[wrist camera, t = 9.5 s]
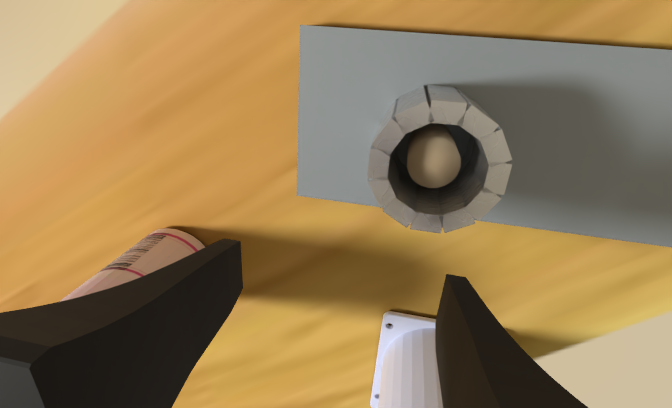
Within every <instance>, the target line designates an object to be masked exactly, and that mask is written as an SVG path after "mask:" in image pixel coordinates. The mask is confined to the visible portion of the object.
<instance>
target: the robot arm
mask: <svg viewBox="0 0 672 408" xmlns="http://www.w3.org/2000/svg"><path fill="white" fill-rule="evenodd" d="M242 289H243V280H242V262H241V243H240V241H236V240H230V239H222V240H220V241H217V242H215V243H213V244H211V245H209V246H207V247H205V248H203V249H201V250H199V251H197V252H195V253H193V254H191V255H189V256H186V257H184V258H182V259H180V260H178V261H176V262H174V263H172V264H170V265H167V266H165V267H163V268H161V269H158V270H156V271H154V272H152V273H149V274H147V275H145V276H142V277H140V278H137V279H134V280H132V281H129V282H126V283H123V284H120V285H118V286H115V287H112V288H109V289H105V290H102V291H98V292H95V293H91V294H88V295H84V296H81V297H77V298H73V299H69V300H65V301H61V302H57V303H52V304H47V305H43V306H38V307H33V308H27V309H21V310H15V311H9V312H3V313H0V408H172V406H173V404H174V402H175V400H176V398H177V396H178V394H179V393H180V391H181V389H182V387H183V385H184V383H185V382H186V380H187V378H188V376H189V374H190V373H191V371H192V369H193V368H194V366H195V365H196V363H197V362H198V360H199V359H200V357H201V356H202V354H203V353H204V351H205V350H206V348H207V347H208V345H209V344H210V342H211V341H212V339H213V338H214V337H215V335H216V334H217V332H218V331H219V329H220V328H221V326H222V325H223V323H224V322H225V320H226V319H227V317H228V316H229V314H230V313H231V311H232V309H233V307H234V305H235V303H236V301H237V299H238V297H239V295H240V293H241V291H242ZM387 323H391V324H392V325H388V324H387ZM378 394H379V395H378ZM370 406H371V407H372V408H588V407H587V406H585V405H584V404H583V403H581V402H580V401H579V400H578V399H576V398H575V397H574V396H573V395H572V394H570V393H569V392H568V391H567V390H565V389H564V388H563V387H562V386H561V385H560V384H558V383H557V382H556V381H555V380H554V379H553V378H552V377H551V376H549V375H548V374H547V373H546V372H545V371H544V370H543V369H542V368H541V367H540V366H539V365H538V364H537V363H536V362H535V361H534V360H533V359H532V358H531V357H530V356H529V355H528V354H527V353H526V352H525V351H524V350H523V349H522V348H521V347H520V346H519V345H518V344H517V343H516V342H515V341H514V339H513V338H512V337H511V336H510V335H509V334H508V333H507V331H506V330H505V329H504V328H503V327H502V326H501V324H500V323H499V322H498V321H497V319H496V318H495V317H494V315H493V314H492V313H491V312H490V310H489V309H488V308H487V306H486V305H485V304H484V302H483V301H482V299H481V298H480V297H479V295H478V294H477V292H476V291H475V290H474V288H473V287H472V285H471V284H470V283H469V281H468V280H467V278H466V277H460V276H454V275H448V274H446V279H445V283H444V287H443V292H442V296H441V300H440V305H439V309H438V313H437V318H436V319H432V318H426V317H421V316H415V315H409V314H404V313H398V312H393V311H388V312H386V313H384V315H383V321H382V328H381V334H380V341H379V347H378V354H377V361H376V367H375V374H374V380H373V387H372V394H371V400H370Z"/></svg>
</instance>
